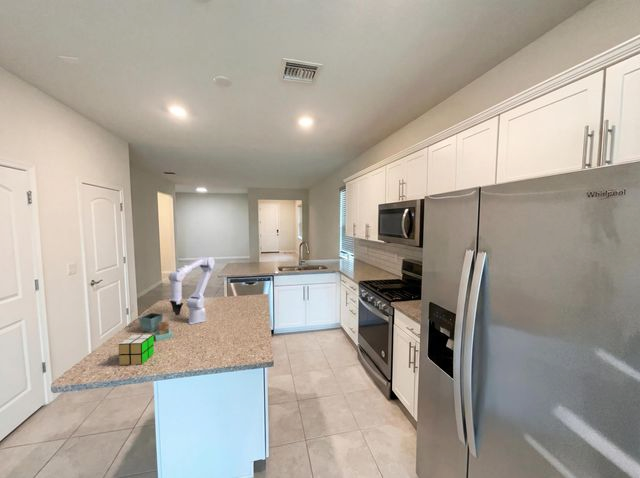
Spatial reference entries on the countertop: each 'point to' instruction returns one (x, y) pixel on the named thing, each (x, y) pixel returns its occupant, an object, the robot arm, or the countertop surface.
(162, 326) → the walnut block
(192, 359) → the countertop surface
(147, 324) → the flower pot
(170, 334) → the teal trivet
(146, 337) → the puzzle cube
